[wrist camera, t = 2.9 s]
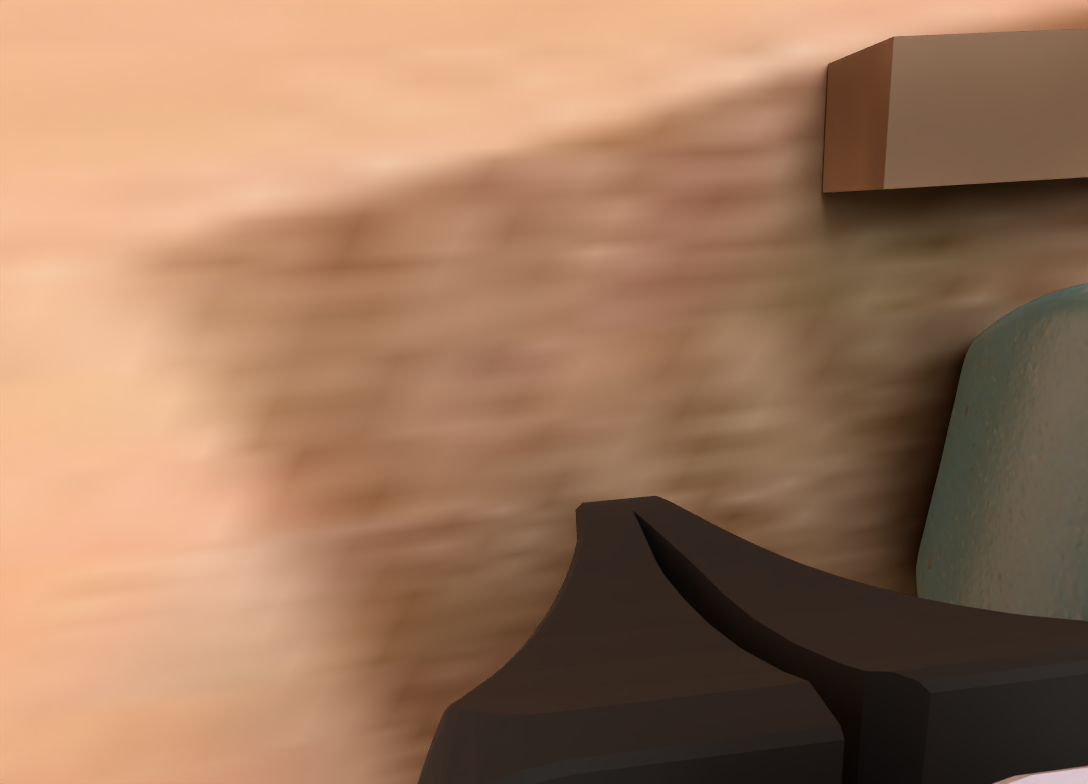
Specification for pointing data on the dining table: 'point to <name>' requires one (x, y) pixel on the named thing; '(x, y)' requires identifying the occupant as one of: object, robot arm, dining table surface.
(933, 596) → the flower pot
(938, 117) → the wooden frame
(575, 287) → the dining table surface
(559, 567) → the dining table surface
